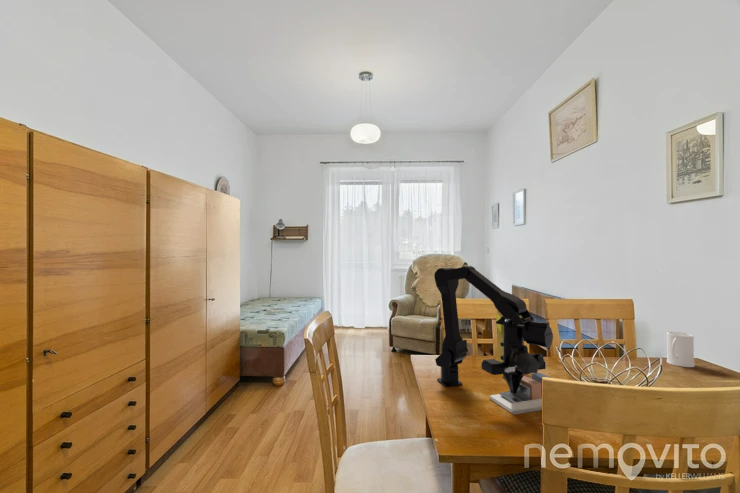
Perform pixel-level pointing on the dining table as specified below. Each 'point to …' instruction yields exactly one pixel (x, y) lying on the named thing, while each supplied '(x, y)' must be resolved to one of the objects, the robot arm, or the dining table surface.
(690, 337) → the mug
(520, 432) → the dining table surface
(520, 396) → the bookend
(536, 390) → the book block
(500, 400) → the shelf
